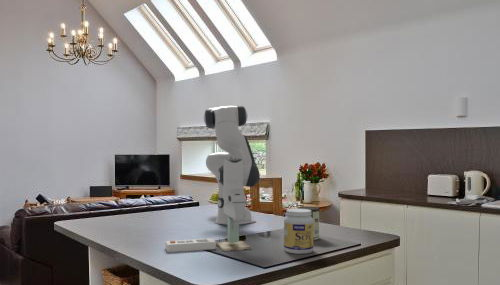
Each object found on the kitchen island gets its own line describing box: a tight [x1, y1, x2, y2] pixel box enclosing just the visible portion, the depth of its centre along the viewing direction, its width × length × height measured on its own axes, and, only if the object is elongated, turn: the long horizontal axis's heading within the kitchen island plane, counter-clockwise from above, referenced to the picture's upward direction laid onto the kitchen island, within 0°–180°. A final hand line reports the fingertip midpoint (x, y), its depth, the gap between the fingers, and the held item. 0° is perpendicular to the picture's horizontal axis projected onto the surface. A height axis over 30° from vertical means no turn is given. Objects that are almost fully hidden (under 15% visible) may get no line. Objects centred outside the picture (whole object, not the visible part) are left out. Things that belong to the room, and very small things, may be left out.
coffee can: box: [296, 205, 320, 241], centre depth 217 cm, size 10×10×14 cm
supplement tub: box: [283, 208, 314, 255], centre depth 190 cm, size 12×12×17 cm
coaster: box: [216, 240, 252, 252], centre depth 196 cm, size 12×12×1 cm
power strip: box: [164, 238, 217, 253], centre depth 193 cm, size 20×7×4 cm, turn 108°
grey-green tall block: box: [226, 217, 240, 243], centre depth 196 cm, size 4×4×12 cm
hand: (233, 228), depth 196 cm, fingers closed on grey-green tall block, 4 cm apart
